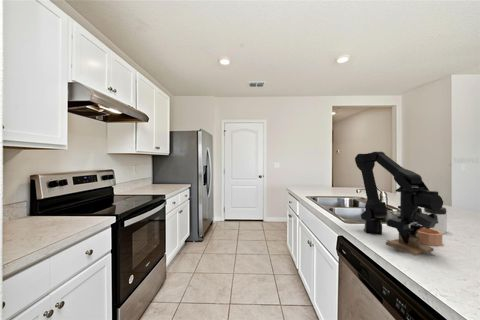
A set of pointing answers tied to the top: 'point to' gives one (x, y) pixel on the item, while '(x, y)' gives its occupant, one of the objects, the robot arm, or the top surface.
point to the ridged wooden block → (410, 245)
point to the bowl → (430, 237)
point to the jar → (439, 219)
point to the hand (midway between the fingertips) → (408, 242)
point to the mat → (407, 252)
